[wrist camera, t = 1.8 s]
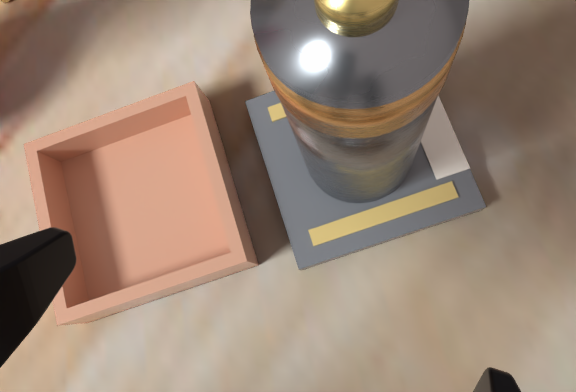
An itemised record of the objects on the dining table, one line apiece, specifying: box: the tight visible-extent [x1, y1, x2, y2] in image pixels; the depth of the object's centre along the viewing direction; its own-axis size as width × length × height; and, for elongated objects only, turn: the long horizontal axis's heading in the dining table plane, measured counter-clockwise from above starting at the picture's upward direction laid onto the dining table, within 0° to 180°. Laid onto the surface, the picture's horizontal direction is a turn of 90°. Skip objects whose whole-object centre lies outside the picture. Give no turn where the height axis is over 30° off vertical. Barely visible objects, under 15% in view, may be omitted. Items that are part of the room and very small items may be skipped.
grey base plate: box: [245, 91, 486, 270], centre depth 23 cm, size 9×9×1 cm
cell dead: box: [250, 0, 469, 203], centre depth 17 cm, size 5×5×13 cm
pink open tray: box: [24, 81, 259, 326], centre depth 24 cm, size 9×9×2 cm
